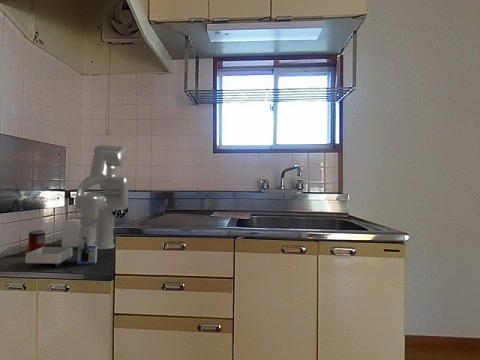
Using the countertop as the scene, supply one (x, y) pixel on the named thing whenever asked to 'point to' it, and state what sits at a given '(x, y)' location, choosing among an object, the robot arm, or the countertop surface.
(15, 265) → the countertop surface
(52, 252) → the white storage bin
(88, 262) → the medicine box
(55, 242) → the countertop surface
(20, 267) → the countertop surface
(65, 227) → the jar
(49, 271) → the countertop surface
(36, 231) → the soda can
